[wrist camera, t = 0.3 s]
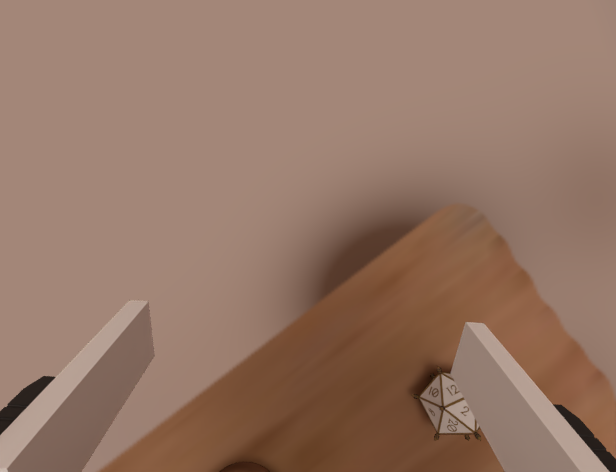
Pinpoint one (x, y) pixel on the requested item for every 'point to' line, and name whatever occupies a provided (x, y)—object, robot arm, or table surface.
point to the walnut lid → (244, 467)
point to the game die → (447, 407)
